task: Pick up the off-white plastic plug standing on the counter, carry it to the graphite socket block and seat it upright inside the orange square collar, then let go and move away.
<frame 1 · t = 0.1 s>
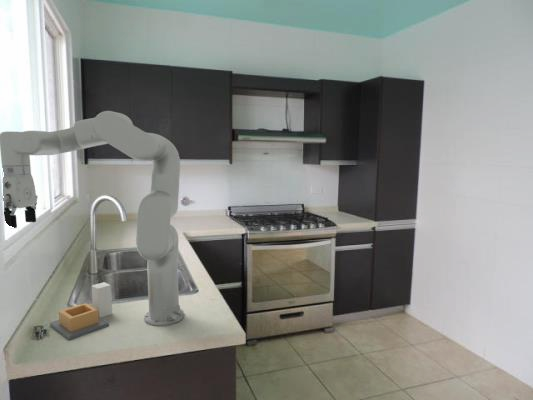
hand: (21, 224, 122), 31 cm above the counter, tool pointing down, fingers open, 9 cm apart
white plug: (102, 313, 128), on the counter
socket block: (79, 325, 119), on the counter
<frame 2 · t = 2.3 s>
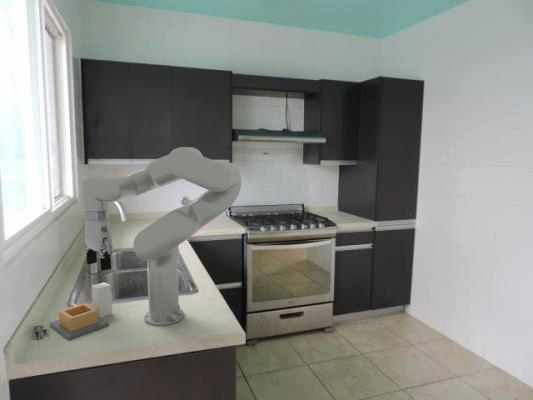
hand: (98, 266, 126), 16 cm above the counter, tool pointing down, fingers open, 9 cm apart
nothing on the counter moved.
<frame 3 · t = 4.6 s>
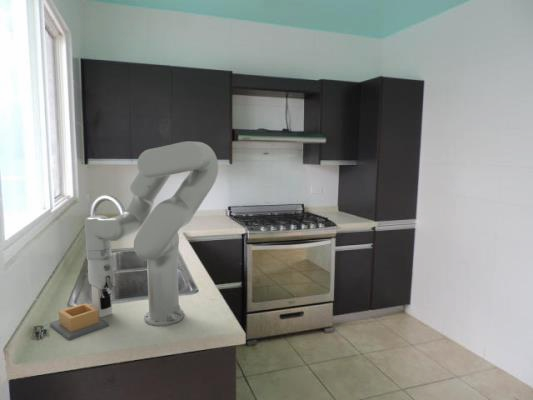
hand: (102, 305, 128), 3 cm above the counter, tool pointing down, fingers closed on white plug, 4 cm apart
white plug: (102, 313, 128), on the counter, touching gripper
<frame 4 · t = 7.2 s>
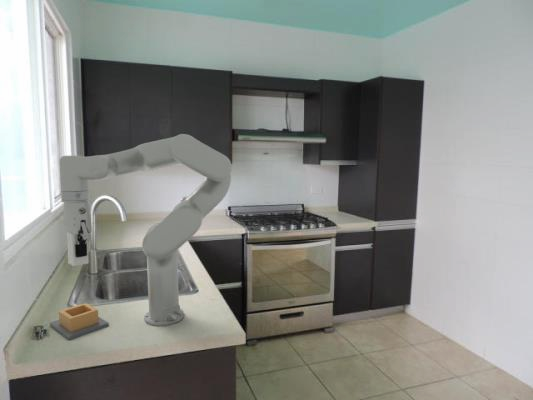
hand: (78, 254, 118), 23 cm above the counter, tool pointing down, fingers closed on white plug, 4 cm apart
white plug: (78, 263, 118), point 20 cm above the counter, touching gripper
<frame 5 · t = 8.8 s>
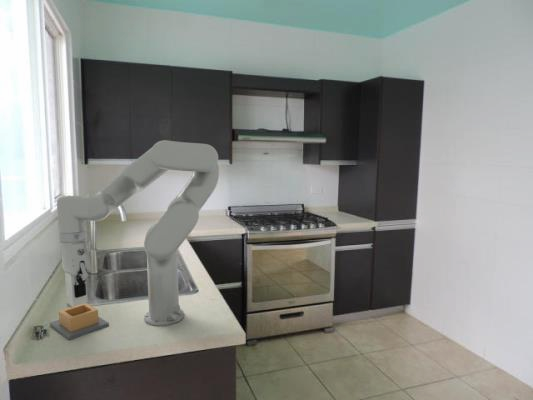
hand: (76, 293, 118), 10 cm above the counter, tool pointing down, fingers closed on white plug, 4 cm apart
white plug: (77, 302, 118), point 8 cm above the counter, touching gripper
when the fingers open (6 cm above the counter, at t = 10.2 s): white plug drops 2 cm, resting on socket block.
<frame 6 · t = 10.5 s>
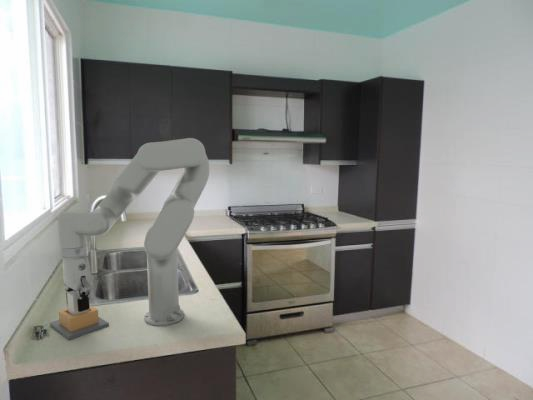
hand: (78, 306, 118), 6 cm above the counter, tool pointing down, fingers open, 7 cm apart
white plug: (79, 322, 119), point 1 cm above the counter, touching socket block
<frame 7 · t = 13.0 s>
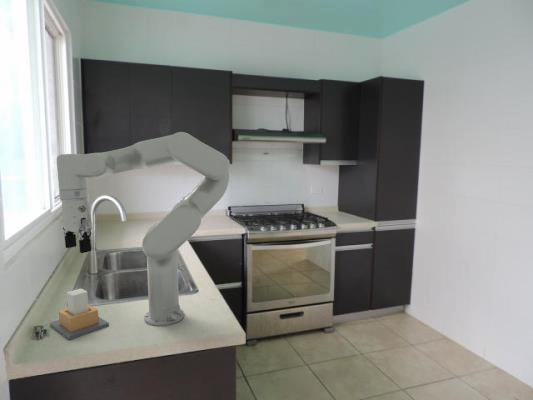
hand: (78, 249, 118), 24 cm above the counter, tool pointing down, fingers open, 9 cm apart
nothing on the counter moved.
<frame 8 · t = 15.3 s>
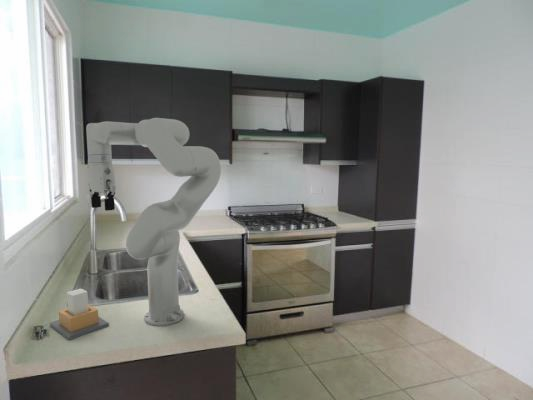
hand: (103, 208, 133), 34 cm above the counter, tool pointing down, fingers open, 9 cm apart
nothing on the counter moved.
at the end: white plug 0.1 cm off-centre on the socket block, point 1.0 cm above the socket block's base; white plug tilted 0°; the gripper is holding nothing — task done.
